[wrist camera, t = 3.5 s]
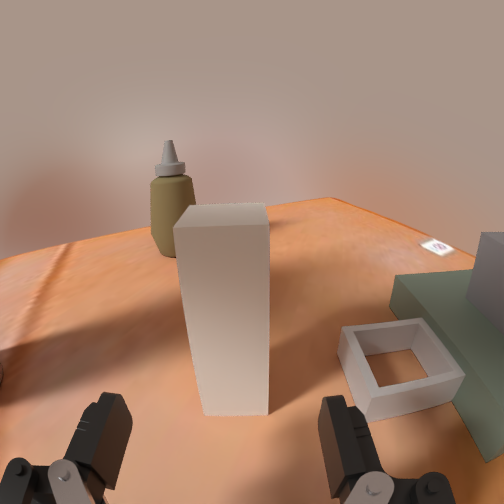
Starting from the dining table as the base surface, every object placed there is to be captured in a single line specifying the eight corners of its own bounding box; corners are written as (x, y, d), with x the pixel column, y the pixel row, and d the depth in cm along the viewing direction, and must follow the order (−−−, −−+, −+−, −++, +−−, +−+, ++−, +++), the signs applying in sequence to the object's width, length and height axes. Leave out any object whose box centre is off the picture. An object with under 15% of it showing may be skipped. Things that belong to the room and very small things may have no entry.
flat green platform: (386, 503, 12) (475, 386, 7) (321, 311, 32) (329, 212, 28) (580, 395, 12) (629, 297, 8) (483, 294, 32) (501, 216, 28)
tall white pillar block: (204, 415, 19) (172, 227, 14) (209, 373, 24) (189, 205, 18) (268, 415, 20) (269, 224, 14) (264, 372, 24) (264, 202, 18)
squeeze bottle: (182, 264, 44) (171, 140, 38) (144, 256, 48) (131, 145, 41) (211, 246, 51) (205, 137, 44) (174, 240, 54) (166, 140, 48)
